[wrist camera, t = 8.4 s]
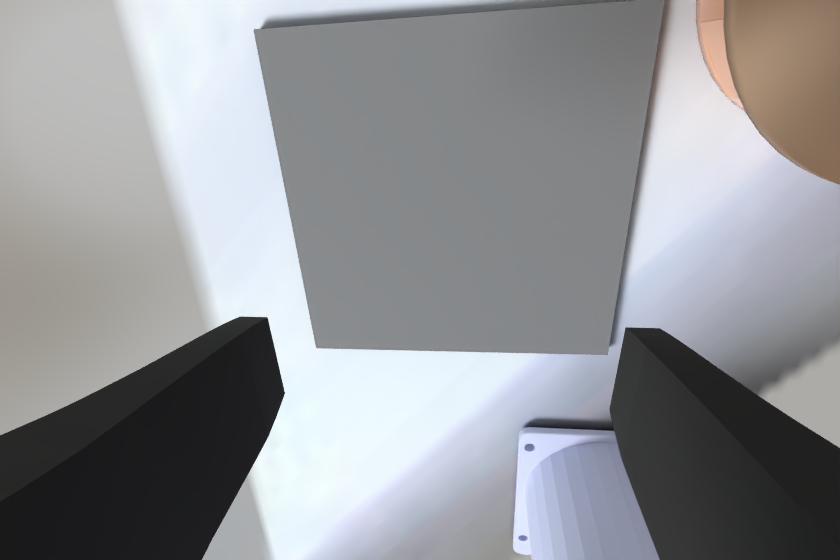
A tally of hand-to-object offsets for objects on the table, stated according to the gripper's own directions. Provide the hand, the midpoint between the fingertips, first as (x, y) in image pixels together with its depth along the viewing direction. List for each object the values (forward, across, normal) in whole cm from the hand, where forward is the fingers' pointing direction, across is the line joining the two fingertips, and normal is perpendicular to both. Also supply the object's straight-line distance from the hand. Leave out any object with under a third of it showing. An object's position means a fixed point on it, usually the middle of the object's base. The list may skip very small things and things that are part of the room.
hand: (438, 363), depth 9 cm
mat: (+9, 0, 0) cm, 9 cm away
